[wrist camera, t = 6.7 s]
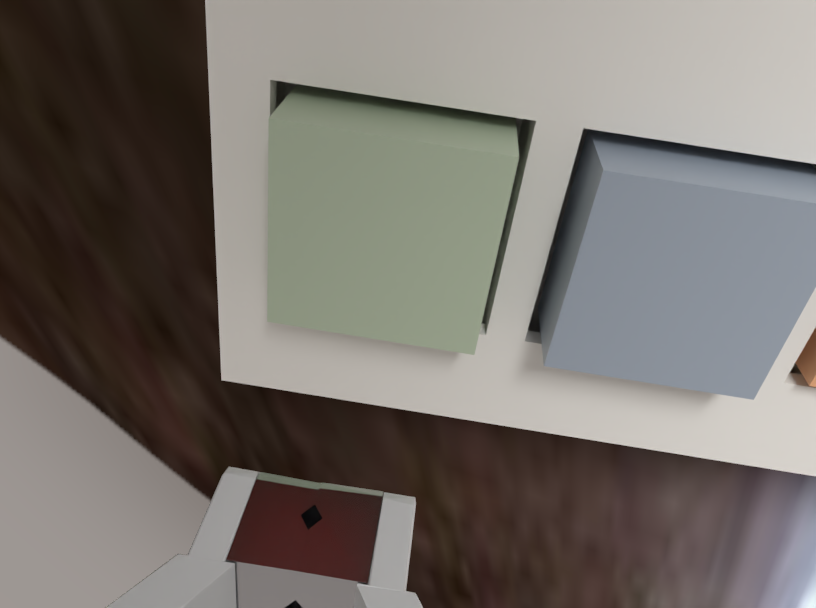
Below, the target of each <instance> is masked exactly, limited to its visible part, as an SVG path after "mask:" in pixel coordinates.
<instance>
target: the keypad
mask: <svg viewBox="0 0 816 608" xmlns="http://www.w3.org/2000/svg"><path fill="white" fill-rule="evenodd" d="M205 9H206V32H207V56H208V79H209V102H210V126H211V149H212V172H213V195H214V219H215V242H216V265H217V289H218V312H219V335H220V358H221V380H223V381H230V382H236V383H242V384H248V385H254V386H261V387H267V388H273V389H279V390H285V391H291V392H298V393H304V394H310V395H316V396H322V397H328V398H335V399H341V400H347V401H353V402H359V403H365V404H372V405H378V406H384V407H390V408H396V409H403V410H409V411H415V412H421V413H427V414H433V415H440V416H446V417H452V418H458V419H464V420H470V421H477V422H483V423H489V424H495V425H501V426H507V427H514V428H520V429H526V430H532V431H538V432H544V433H551V434H557V435H563V436H569V437H575V438H582V439H588V440H594V441H600V442H606V443H612V444H619V445H625V446H631V447H637V448H643V449H649V450H656V451H662V452H668V453H674V454H680V455H686V456H693V457H699V458H705V459H711V460H717V461H724V462H730V463H736V464H742V465H748V466H754V467H761V468H767V469H773V470H779V471H785V472H791V473H798V474H804V475H810V476H816V387H813V386H809V385H808V383H807V381H806V380H805V378H804V376H803V375H802V373H801V371H800V370H799V368H798V366H797V365H796V363H795V362H796V361H797V359H798V357H799V355H800V354H801V352H802V350H803V348H804V347H805V345H806V343H807V341H808V340H809V338H810V336H811V334H812V333H813V331H814V329H815V327H816V288H815V289H814V291H813V293H812V295H811V297H810V298H809V300H808V302H807V304H806V306H805V308H804V309H803V311H802V313H801V315H800V317H799V318H798V320H797V322H796V324H795V326H794V328H793V329H792V331H791V333H790V335H789V337H788V338H787V340H786V342H785V344H784V346H783V348H782V349H781V351H780V353H779V355H778V357H777V358H776V360H775V362H774V364H773V366H772V367H771V369H770V371H769V373H768V375H767V377H766V378H765V380H764V382H763V384H762V386H761V387H760V389H759V391H758V393H757V395H756V397H755V398H754V400H752V399H745V398H739V397H733V396H727V395H720V394H714V393H708V392H702V391H696V390H689V389H683V388H677V387H671V386H664V385H658V384H652V383H646V382H639V381H633V380H627V379H621V378H614V377H608V376H602V375H596V374H590V373H583V372H577V371H571V370H565V369H558V368H552V367H546V366H544V363H543V353H542V343H541V333H540V324H539V314H538V305H539V302H540V298H541V294H542V291H543V287H544V284H545V280H546V277H547V273H548V270H549V266H550V262H551V259H552V255H553V252H554V248H555V245H556V241H557V237H558V234H559V230H560V227H561V223H562V220H563V216H564V212H565V209H566V205H567V202H568V198H569V195H570V191H571V188H572V184H573V180H574V177H575V173H576V170H577V166H578V163H579V159H580V155H581V152H582V148H583V145H584V141H585V138H586V134H587V131H588V129H592V130H598V131H605V132H611V133H617V134H624V135H630V136H637V137H643V138H650V139H656V140H663V141H669V142H676V143H682V144H689V145H695V146H701V147H708V148H714V149H721V150H727V151H734V152H740V153H747V154H753V155H760V156H766V157H773V158H779V159H785V160H792V161H798V162H805V163H811V164H812V165H813V166H814V167H815V168H816V0H205ZM297 84H301V85H307V86H314V87H320V88H327V89H333V90H340V91H346V92H353V93H359V94H365V95H372V96H378V97H385V98H391V99H398V100H404V101H411V102H417V103H424V104H430V105H437V106H443V107H449V108H456V109H462V110H469V111H475V112H482V113H488V114H495V115H501V116H508V117H514V118H516V127H517V138H518V149H519V161H518V165H517V169H516V174H515V178H514V183H513V187H512V191H511V196H510V200H509V205H508V209H507V213H506V218H505V222H504V227H503V231H502V235H501V240H500V244H499V249H498V253H497V257H496V262H495V266H494V271H493V275H492V279H491V284H490V288H489V293H488V297H487V301H486V306H485V310H484V315H483V319H482V323H481V328H480V332H479V337H478V341H477V346H476V350H475V354H474V355H471V354H465V353H459V352H452V351H446V350H440V349H434V348H428V347H421V346H415V345H409V344H403V343H396V342H390V341H384V340H378V339H371V338H365V337H359V336H353V335H346V334H340V333H334V332H328V331H322V330H315V329H309V328H303V327H297V326H290V325H284V324H278V323H272V322H267V276H268V126H269V117H270V116H271V115H272V113H273V112H274V111H275V110H276V109H277V107H278V106H279V105H280V104H281V103H282V101H283V100H284V99H285V98H286V97H287V95H288V94H289V93H290V92H291V91H292V89H293V88H294V87H295V86H296V85H297Z"/></svg>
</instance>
